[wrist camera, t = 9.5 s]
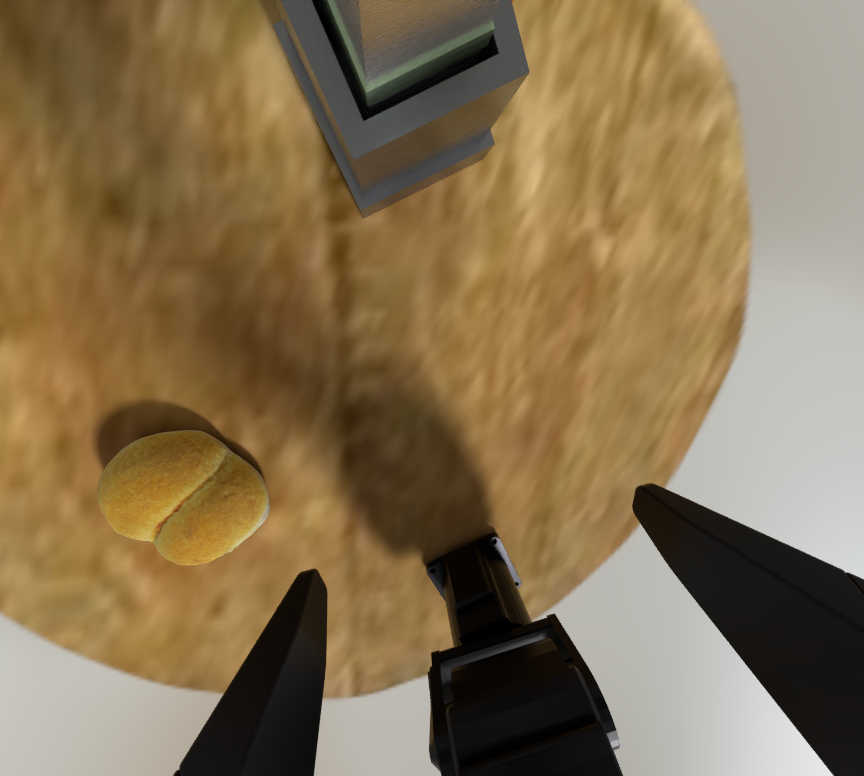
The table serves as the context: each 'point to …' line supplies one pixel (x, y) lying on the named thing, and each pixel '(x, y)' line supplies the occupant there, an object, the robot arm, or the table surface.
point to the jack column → (407, 44)
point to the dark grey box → (401, 108)
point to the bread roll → (183, 495)
